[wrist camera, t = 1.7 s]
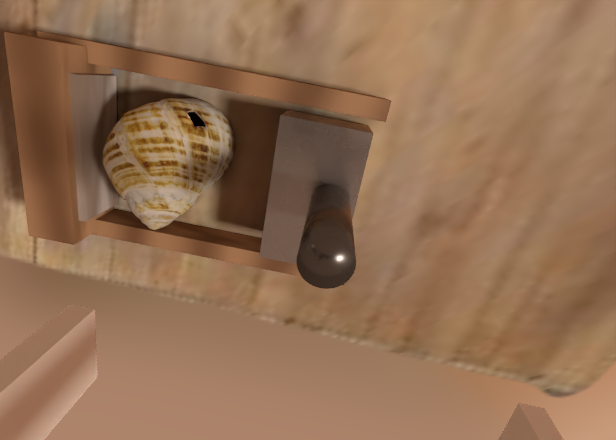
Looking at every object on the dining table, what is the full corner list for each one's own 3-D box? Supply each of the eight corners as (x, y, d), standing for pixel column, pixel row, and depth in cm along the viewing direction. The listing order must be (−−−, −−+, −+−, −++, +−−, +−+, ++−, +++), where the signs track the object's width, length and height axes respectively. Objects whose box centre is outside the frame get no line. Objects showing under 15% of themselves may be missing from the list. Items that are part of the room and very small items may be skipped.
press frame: (76, 215, 37) (29, 239, 31) (64, 35, 30) (2, 25, 25) (343, 269, 36) (344, 303, 31) (386, 99, 30) (397, 103, 25)
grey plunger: (269, 233, 35) (224, 332, 21) (289, 109, 31) (248, 133, 17) (338, 247, 35) (338, 355, 21) (368, 125, 31) (392, 161, 17)
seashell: (231, 82, 30) (202, 158, 23) (243, 170, 37) (223, 246, 31) (112, 75, 30) (49, 148, 24) (147, 164, 37) (106, 239, 31)
